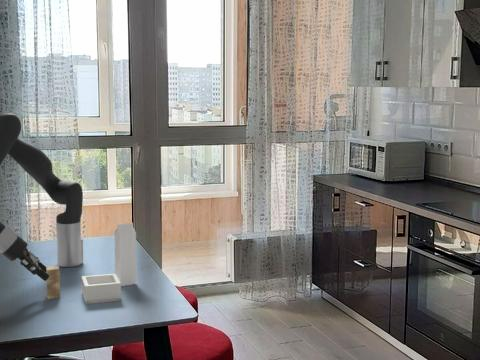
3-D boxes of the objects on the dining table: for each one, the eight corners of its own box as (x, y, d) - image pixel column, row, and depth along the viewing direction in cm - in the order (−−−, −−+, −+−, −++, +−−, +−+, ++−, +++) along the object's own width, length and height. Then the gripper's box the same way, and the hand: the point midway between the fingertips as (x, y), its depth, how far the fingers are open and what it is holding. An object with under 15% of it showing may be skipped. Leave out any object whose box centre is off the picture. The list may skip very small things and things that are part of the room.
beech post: (47, 299, 202) (46, 269, 200) (46, 295, 205) (46, 266, 204) (60, 298, 203) (59, 268, 202) (59, 294, 207) (58, 265, 205)
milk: (136, 284, 219) (136, 224, 216) (119, 286, 216) (119, 225, 213) (130, 279, 224) (130, 221, 221) (114, 281, 221) (114, 222, 218)
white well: (85, 304, 197) (85, 286, 197) (81, 293, 208) (81, 276, 207) (120, 300, 201) (120, 283, 201) (115, 290, 212) (115, 273, 211)
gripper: (17, 240, 191) (56, 272, 196) (17, 230, 204) (53, 261, 210) (-1, 257, 190) (39, 290, 195) (0, 247, 203) (38, 277, 209)
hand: (46, 275), depth 203 cm, fingers open, 8 cm apart
